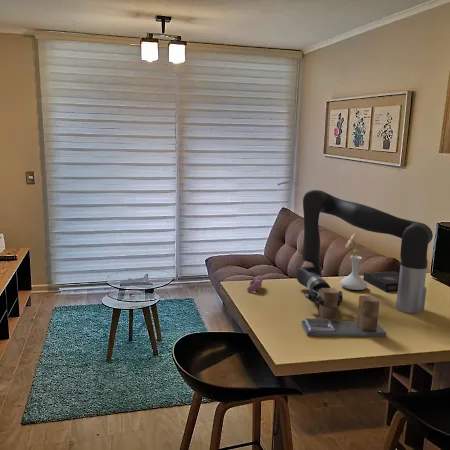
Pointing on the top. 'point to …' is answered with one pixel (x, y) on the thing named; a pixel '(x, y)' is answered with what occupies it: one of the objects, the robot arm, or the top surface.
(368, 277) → the portable cd player
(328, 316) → the walnut finger
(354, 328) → the rail
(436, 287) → the top surface
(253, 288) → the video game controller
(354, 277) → the flower in vase
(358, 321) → the block
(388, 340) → the top surface
